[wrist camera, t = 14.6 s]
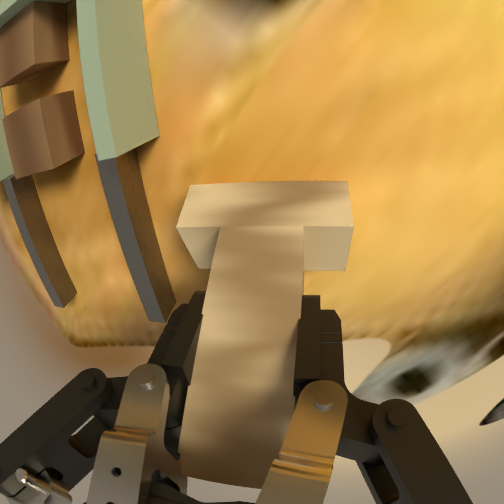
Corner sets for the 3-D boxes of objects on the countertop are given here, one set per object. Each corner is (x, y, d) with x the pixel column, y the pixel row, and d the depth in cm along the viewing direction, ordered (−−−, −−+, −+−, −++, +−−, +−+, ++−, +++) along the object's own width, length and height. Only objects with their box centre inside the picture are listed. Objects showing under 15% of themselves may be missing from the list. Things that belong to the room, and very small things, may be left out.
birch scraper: (347, 181, 12) (353, 490, 6) (342, 228, 15) (340, 476, 8) (190, 185, 13) (121, 456, 7) (208, 228, 16) (162, 455, 10)
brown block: (68, 4, 10) (33, 1, 7) (71, 59, 12) (35, 63, 10) (28, 29, 11) (-6, 32, 8) (31, 80, 13) (-3, 88, 10)
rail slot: (133, 140, 14) (113, 150, 13) (175, 302, 20) (165, 322, 18) (21, 170, 16) (2, 180, 15) (67, 291, 22) (55, 306, 20)
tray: (139, -46, 8) (95, -67, 5) (159, 135, 14) (117, 157, 11) (-10, 47, 11) (-49, 55, 8) (10, 174, 17) (-26, 196, 13)
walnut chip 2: (74, 90, 13) (39, 98, 11) (86, 152, 15) (54, 168, 13) (35, 108, 14) (2, 119, 11) (46, 162, 16) (16, 179, 13)
